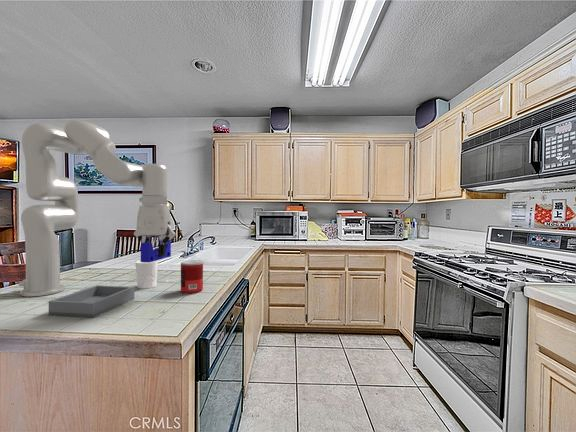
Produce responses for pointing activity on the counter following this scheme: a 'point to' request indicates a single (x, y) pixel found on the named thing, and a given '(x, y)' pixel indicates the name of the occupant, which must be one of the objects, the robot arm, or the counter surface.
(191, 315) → the counter surface
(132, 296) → the tray
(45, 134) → the robot arm
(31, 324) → the counter surface
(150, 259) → the blue u-shaped block
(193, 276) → the canned food
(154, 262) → the white cup
